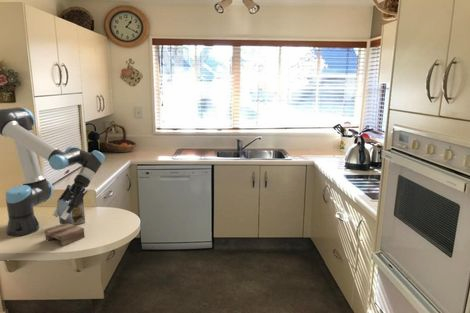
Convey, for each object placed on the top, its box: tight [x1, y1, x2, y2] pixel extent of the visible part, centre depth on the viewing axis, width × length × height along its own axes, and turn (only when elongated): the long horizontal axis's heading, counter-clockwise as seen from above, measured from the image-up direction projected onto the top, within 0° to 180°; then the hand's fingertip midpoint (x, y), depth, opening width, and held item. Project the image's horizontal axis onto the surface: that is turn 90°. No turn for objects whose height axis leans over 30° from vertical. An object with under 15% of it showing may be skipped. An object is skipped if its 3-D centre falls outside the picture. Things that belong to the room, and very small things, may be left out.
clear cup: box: [56, 199, 73, 225], centre depth 178 cm, size 6×6×11 cm
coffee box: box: [69, 196, 86, 226], centre depth 199 cm, size 9×6×16 cm
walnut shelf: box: [44, 223, 85, 247], centre depth 180 cm, size 14×12×5 cm
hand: (58, 217), depth 176 cm, fingers closed on clear cup, 6 cm apart
